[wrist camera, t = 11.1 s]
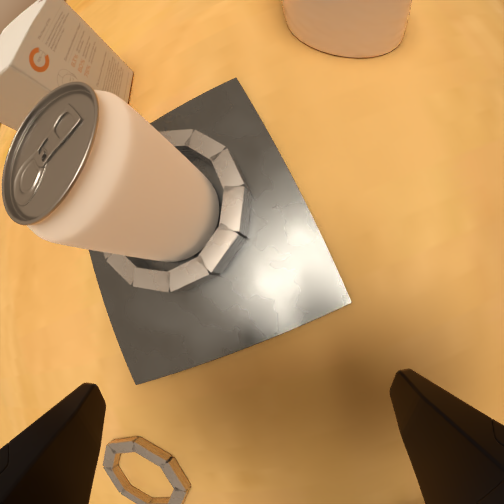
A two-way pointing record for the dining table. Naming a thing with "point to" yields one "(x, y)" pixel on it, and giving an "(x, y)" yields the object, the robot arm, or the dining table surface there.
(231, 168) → the ring seat
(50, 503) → the robot arm
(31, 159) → the can
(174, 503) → the ring
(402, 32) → the toilet tissue
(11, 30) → the small box
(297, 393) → the dining table surface
